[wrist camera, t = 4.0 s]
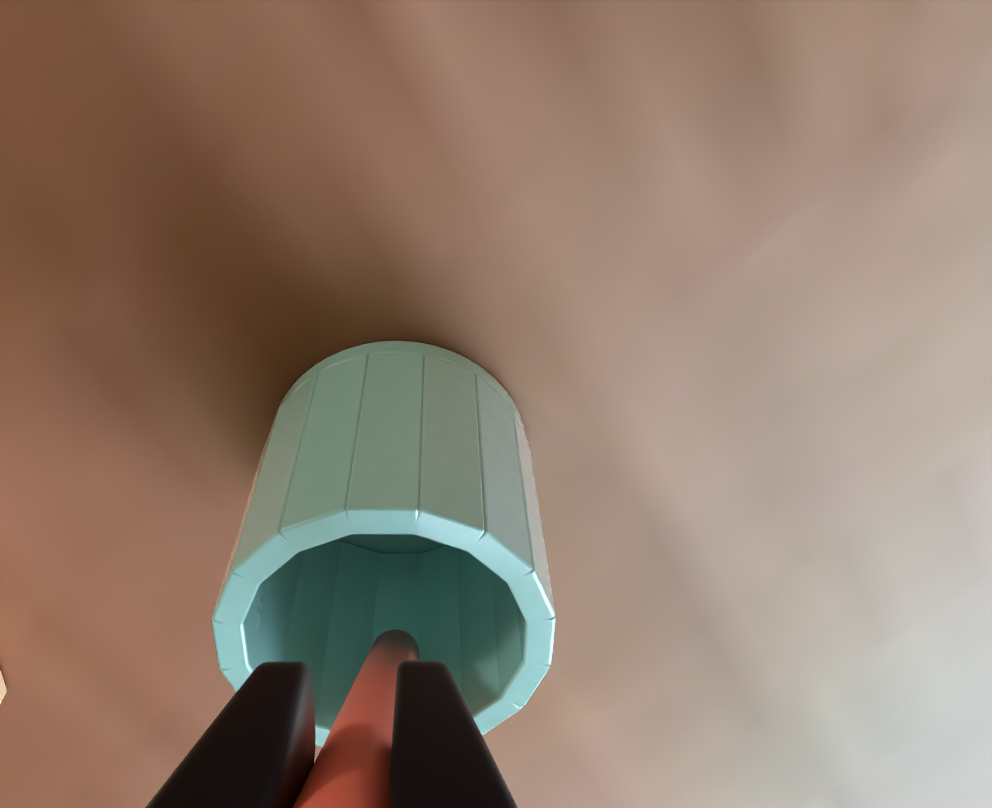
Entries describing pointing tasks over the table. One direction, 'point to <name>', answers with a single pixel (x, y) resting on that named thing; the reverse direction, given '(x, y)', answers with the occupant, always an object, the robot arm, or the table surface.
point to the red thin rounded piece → (361, 734)
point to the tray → (2, 687)
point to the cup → (392, 532)
